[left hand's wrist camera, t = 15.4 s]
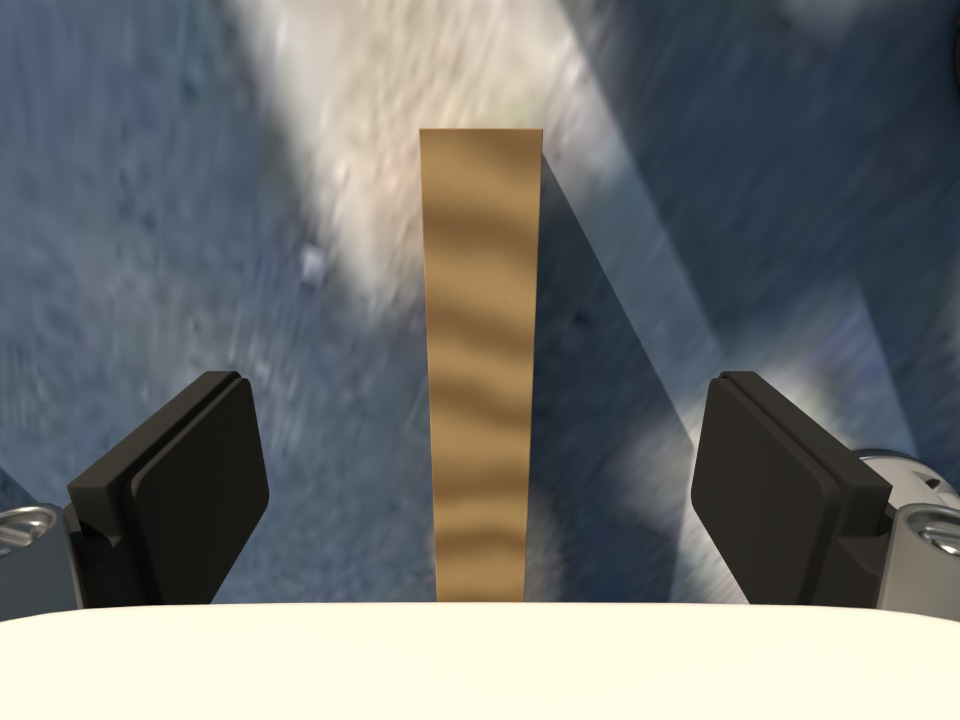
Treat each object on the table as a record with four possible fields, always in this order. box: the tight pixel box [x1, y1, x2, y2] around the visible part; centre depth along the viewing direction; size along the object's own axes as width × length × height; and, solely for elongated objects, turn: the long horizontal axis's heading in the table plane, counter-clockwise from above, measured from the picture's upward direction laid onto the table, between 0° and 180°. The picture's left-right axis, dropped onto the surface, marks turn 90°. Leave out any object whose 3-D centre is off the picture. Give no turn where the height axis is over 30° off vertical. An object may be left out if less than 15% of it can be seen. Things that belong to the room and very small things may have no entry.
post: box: [419, 129, 543, 602], centre depth 42 cm, size 64×6×6 cm, turn 0°
